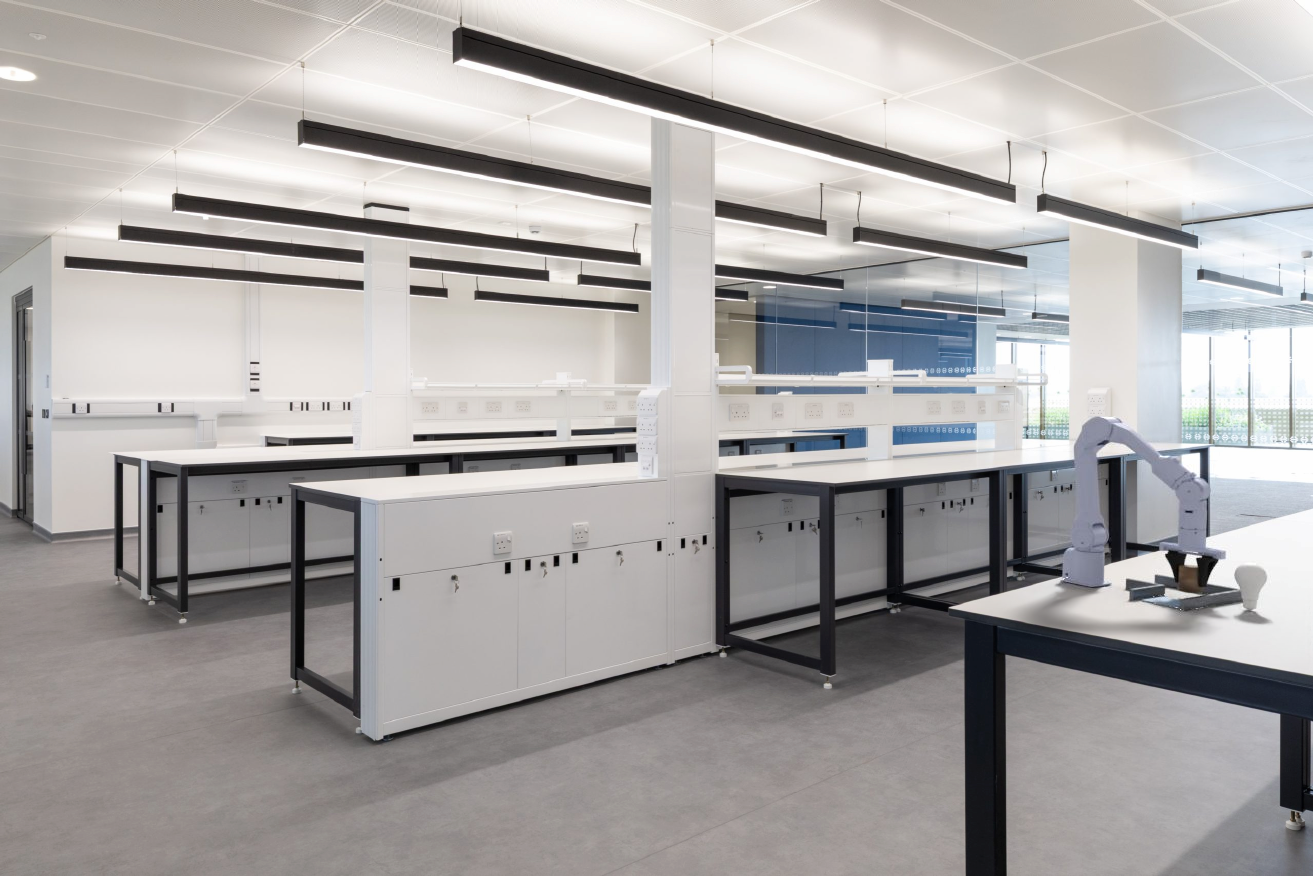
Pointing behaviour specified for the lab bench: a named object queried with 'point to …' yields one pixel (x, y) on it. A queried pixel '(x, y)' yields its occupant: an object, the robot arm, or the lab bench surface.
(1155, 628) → the lab bench surface
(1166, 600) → the pad
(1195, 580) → the walnut cylinder
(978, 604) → the lab bench surface
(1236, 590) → the guide walls
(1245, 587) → the lightbulb
